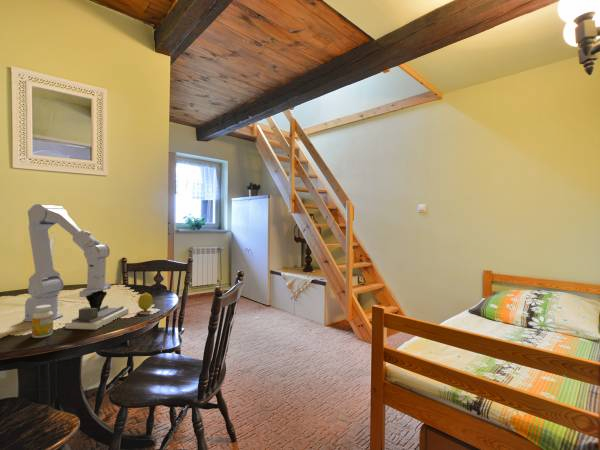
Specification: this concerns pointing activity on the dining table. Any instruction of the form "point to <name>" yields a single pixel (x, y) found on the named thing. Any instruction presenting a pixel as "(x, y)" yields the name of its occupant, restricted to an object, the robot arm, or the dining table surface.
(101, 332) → the dining table surface
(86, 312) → the fader knob
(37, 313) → the supplement bottle
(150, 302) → the yellow oval piece
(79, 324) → the fader console
